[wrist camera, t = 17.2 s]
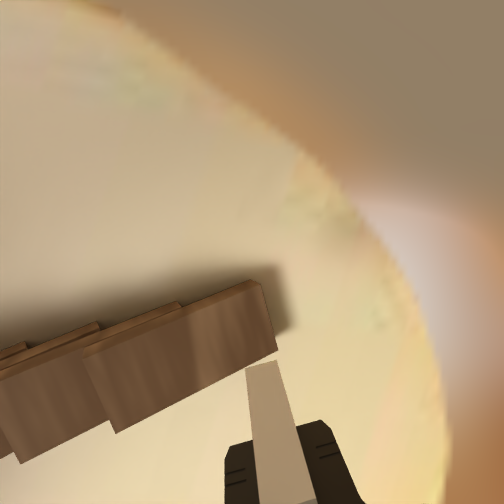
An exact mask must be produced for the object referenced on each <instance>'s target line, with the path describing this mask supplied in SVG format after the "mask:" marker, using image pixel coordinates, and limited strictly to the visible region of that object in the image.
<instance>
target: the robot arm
mask: <svg viewBox="0 0 504 504" xmlns="http://www.w3.org/2000/svg"><path fill="white" fill-rule="evenodd" d="M245 372H246V381H247V391H248V400H249V409H250V418H251V427H252V436H253V440H250V441H247V442H243V443H240V444H236V445H233V446H230V447H229V450H228V452H227V455H226V457H225V504H365V503H364V501H363V500H362V499H361V497H360V496H359V494H358V492H357V489H356V487H355V485H354V482H353V480H352V478H351V475H350V473H349V470H348V468H347V466H346V463H345V461H344V459H343V456H342V454H341V452H340V449H339V447H338V444H337V443H336V440H335V437H334V435H333V433H332V430H331V428H330V427H328V426H327V425H326V424H325V423H324V422H323V421H322V420H318V421H314V422H311V423H307V424H303V425H300V426H295V423H294V419H293V416H292V412H291V409H290V405H289V402H288V398H287V395H286V391H285V388H284V384H283V381H282V377H281V374H280V370H279V367H278V363H277V360H274V361H270V362H267V363H263V364H259V365H256V366H252V367H249V368H245Z"/></svg>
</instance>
